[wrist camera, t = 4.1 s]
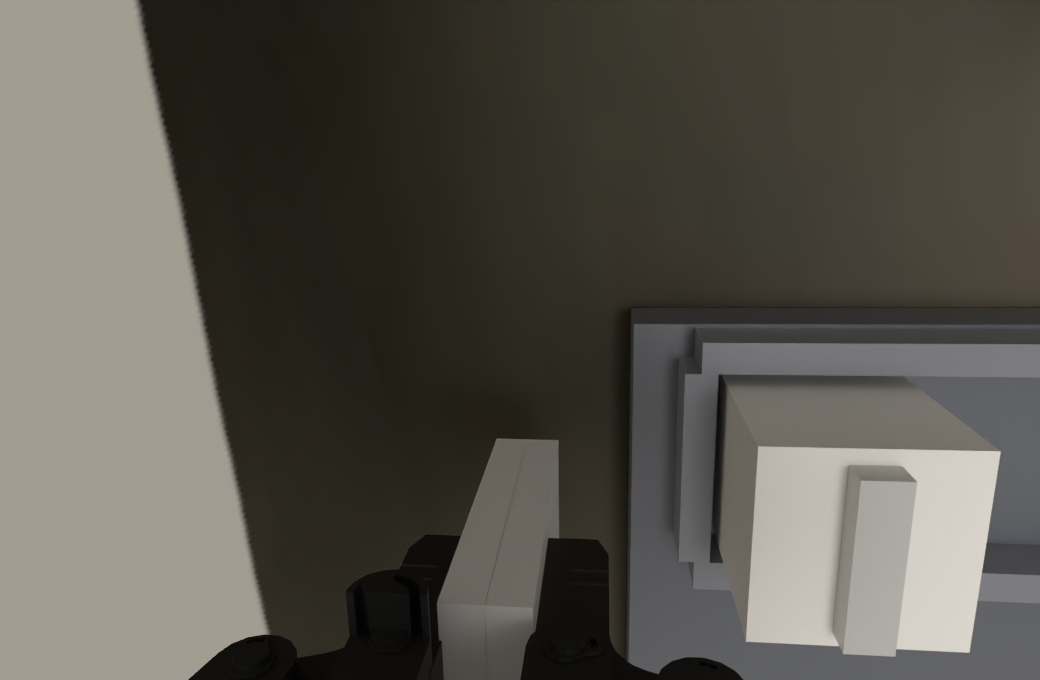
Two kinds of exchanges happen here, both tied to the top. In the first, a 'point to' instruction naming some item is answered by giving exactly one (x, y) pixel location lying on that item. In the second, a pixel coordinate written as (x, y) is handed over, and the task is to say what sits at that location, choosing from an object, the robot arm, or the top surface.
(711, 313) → the switch bank
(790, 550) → the tab
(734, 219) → the top surface
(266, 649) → the robot arm
